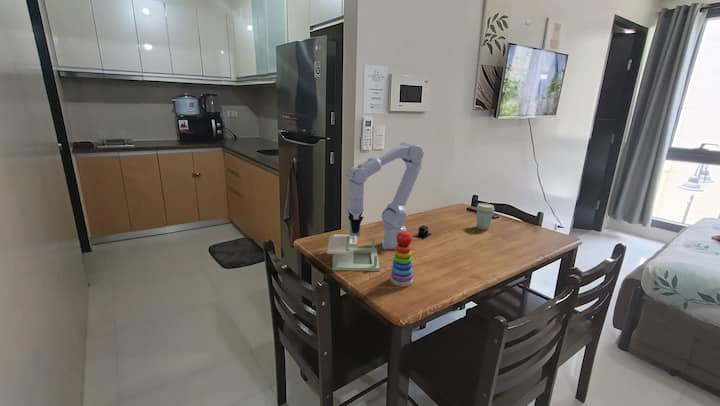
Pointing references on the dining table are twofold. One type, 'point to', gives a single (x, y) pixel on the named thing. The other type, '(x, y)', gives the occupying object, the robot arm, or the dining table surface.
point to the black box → (423, 232)
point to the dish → (352, 240)
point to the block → (354, 233)
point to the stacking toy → (402, 261)
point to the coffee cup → (484, 215)
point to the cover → (338, 245)
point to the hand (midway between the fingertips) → (355, 230)
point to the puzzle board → (357, 259)
